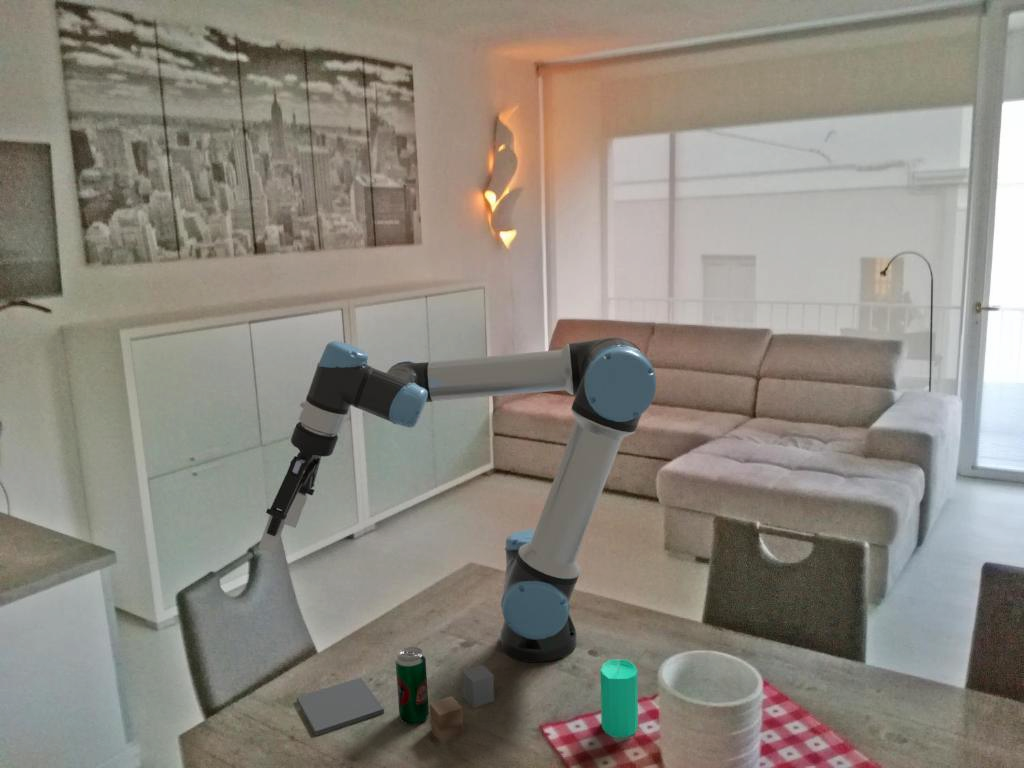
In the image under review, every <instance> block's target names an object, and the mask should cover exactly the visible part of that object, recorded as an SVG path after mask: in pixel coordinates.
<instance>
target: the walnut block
mask: <svg viewBox="0 0 1024 768" xmlns="http://www.w3.org/2000/svg"><path fill="white" fill-rule="evenodd" d="M455 699H456V698H454V697H453V696H452V695H450V696H448V697H444V698H441V699H439V700H436V701H433V702H431V703H429V715H430V729H431V732H432V733H433V734H434V735H435V738H437V739H438V740H439V742H440V743H441V744H442V743H445V742H448V741H451V740H454V739H456V738H459V737H461V736H464V723H463V722H464V721H463V707H462V706H461V705H460V704H459V702H458V701H457V700H455Z"/></svg>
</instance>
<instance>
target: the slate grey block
mask: <svg viewBox="0 0 1024 768" xmlns="http://www.w3.org/2000/svg"><path fill="white" fill-rule="evenodd" d="M462 679H463V680H462V681H463V698H465V700H466V701H467V702H468V703H469V704H470V705H471V707H473V708H474V709H476V708H477V707H480V706H484V705H486V704H489V703H492V702H495V685H494V683H495V682H494V674H493V673H492V672H490V670H489V669H488V668H487V667H485V666H484V665H483V664H481V665H478V666H476V667H472V668H470V669H467V670H463V671H462Z"/></svg>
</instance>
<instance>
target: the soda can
mask: <svg viewBox="0 0 1024 768" xmlns="http://www.w3.org/2000/svg"><path fill="white" fill-rule="evenodd" d="M426 658H427V657H426V655H425V654H424V651H423V649H421V648H420V647H417V646H407V647H404V648H402V649H400V650H398V652H397V654H396V658H395V660H394V661H395V674H396V685H397V686H396V687H397V688H396V689H397V701H398V702H397V703H398V713H399V715H398V716H399V719H400V720H401V721H402V722H404V724H408V725H417V724H420V723H423V722H424V721H425V720H426V719H427V718H428V716H429V715H430V705H429V691H428V677H427V675H428V674H427V662H426Z"/></svg>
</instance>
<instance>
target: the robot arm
mask: <svg viewBox="0 0 1024 768" xmlns="http://www.w3.org/2000/svg"><path fill="white" fill-rule="evenodd" d="M368 358H369V355H368V353H367V352H366V351H365V350H363V349H361V348H359V347H357V346H355V345H352V344H350V343H346V342H342V341H336V340H335V341H330V342H328V343H327V345H326V346H325V348H324V350H323V353H322V355H321V357H320V360H319V362H317V366H316V369H315V372H314V376H313V377H312V381H311V384H310V385H309V386H310V387H309V388H308V389H309V390H308V393H307V395H306V397H305V398H306V399H305V401H304V402H303V401H302V402H301V403H300V404H299V406H300V408H302V410H301V412H300V414H299V418H298V420H299V422H297V423H296V424H295V427H294V430H293V433H292V435H291V438H290V442H291V444H292V446H293V447H294V448H297V449H298V450H299V452H298V453H297V455H294V457H293V458H292V459H291V460H290V463H289V467H288V469H287V472H286V474H285V475H284V478H283V481H282V482H281V485H280V487H279V489H278V491H277V493H276V496H275V497H274V500H273V501H272V504H271V505H270V508H267V509H266V512H265V513H266V514H268V516H269V517H268V520H267V523H266V525H265V527H264V531H263V534H262V536H261V539H260V542H259V545H258V549H260V550H262V551H265V552H268V553H271V554H274V553H275V552H276V549H277V547H278V544H279V541H280V537H281V535H282V533H283V530H284V527H285V525H287V526H289V527H291V528H294V529H297V527H298V524H299V521H300V519H301V516H302V513H303V511H304V508H305V505H306V502H307V500H308V497H309V496H313V495H314V493H315V489H313V487H315V482H316V478H317V474H318V471H319V466H320V464H321V459H322V457H330V456H332V455H333V452H334V451H335V447H336V445H337V442H338V439H339V436H338V434H341V433H342V429H343V426H344V424H345V421H346V419H347V416H348V413H349V409H350V406H352V407H354V408H357V409H359V410H360V411H361V410H362V411H363V412H366V413H369V414H371V415H374V416H376V417H378V418H381V419H384V420H386V421H388V422H391V424H394V425H398V426H402V427H405V428H409V429H411V428H414V427H415V426H416V425H418V421H419V420H420V418H421V415H422V413H423V410H424V408H425V405H426V403H430V402H431V403H432V402H441V401H442V402H443V401H452V400H463V399H474V398H475V399H476V398H487V397H497V396H498V397H499V396H500V397H501V396H511V395H522V394H533V393H534V394H535V393H546V392H556V391H557V392H558V391H566V392H567V393H569V395H571V396H574V395H575V397H574V399H573V403H572V405H571V407H570V410H571V412H572V414H573V417H574V419H575V422H574V425H573V427H572V430H571V433H570V436H569V438H568V441H567V443H566V446H565V449H564V452H563V454H562V457H561V460H560V462H559V465H558V468H557V471H556V473H555V475H554V479H553V481H552V484H551V487H550V490H549V492H548V495H547V498H546V500H545V503H544V505H543V508H542V510H541V513H540V516H539V519H538V522H537V524H536V527H535V529H527V530H520V531H516V532H514V533H511V534H509V535H508V536H507V538H506V539H505V547H504V551H505V558H506V559H505V560H506V563H505V565H506V566H505V567H506V569H505V577H504V585H503V592H502V597H501V604H500V605H501V606H500V607H501V610H502V615H503V618H504V621H503V625H502V628H501V632H500V646H501V649H502V651H503V652H504V653H505V654H506V655H508V656H509V657H511V658H513V659H515V660H519V661H522V662H523V661H524V662H529V663H530V662H531V663H545V662H552V661H556V660H559V659H562V658H564V657H566V656H568V655H570V654H571V653H573V651H574V650H575V648H577V631H576V627H575V624H574V621H573V619H572V617H571V614H570V608H571V607H570V600H571V597H572V594H573V592H574V589H575V587H576V585H577V582H578V579H579V577H580V574H581V568H580V566H579V564H578V562H577V559H578V558H577V557H578V555H579V552H580V550H581V547H582V545H583V542H584V539H585V537H586V534H587V532H588V529H589V526H590V524H591V522H592V519H593V516H594V514H595V512H596V509H597V506H598V504H599V501H600V498H601V495H602V493H603V491H604V487H605V485H606V482H607V480H608V477H609V474H610V472H611V469H612V468H613V464H614V462H615V459H616V457H617V454H618V452H619V449H620V446H621V444H622V441H623V440H624V439H625V438H626V437H629V436H631V435H633V434H635V432H636V429H637V426H638V424H639V422H640V420H641V417H642V415H643V414H644V413H645V412H646V411H647V410H648V409H649V407H650V406H651V404H652V403H653V400H654V398H655V395H656V392H657V391H656V389H657V377H656V372H655V369H654V366H653V365H652V362H651V361H650V360H649V358H648V357H647V356H646V355H645V354H644V353H643V351H642V350H641V349H640V348H639V347H638V346H637V345H636V344H635V343H633V342H631V341H630V340H628V339H625V338H622V337H605V338H599V339H594V340H586V341H581V342H573V343H570V342H569V343H567V344H565V345H564V347H563V348H562V349H555V350H545V351H534V352H523V353H513V354H512V353H511V354H510V353H509V354H501V355H492V356H491V355H490V356H479V357H467V358H456V359H447V360H446V359H445V360H435V361H429V362H426V361H425V362H415V361H411V360H405V361H400V362H397V363H395V364H393V365H392V366H391V367H390V368H389V369H388V370H387V371H386V372H384V371H382V370H378V369H376V368H375V367H372V366H370V365H369V364H368Z"/></svg>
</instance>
